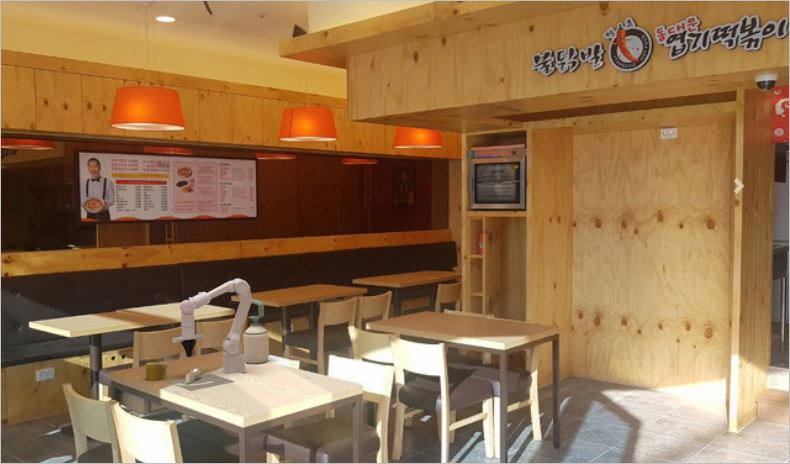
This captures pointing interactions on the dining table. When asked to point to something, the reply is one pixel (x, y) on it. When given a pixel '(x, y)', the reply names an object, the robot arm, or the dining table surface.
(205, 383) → the tuner board
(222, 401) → the dining table surface
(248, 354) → the soap bottle
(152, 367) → the mug
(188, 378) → the tuning dial
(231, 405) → the dining table surface
